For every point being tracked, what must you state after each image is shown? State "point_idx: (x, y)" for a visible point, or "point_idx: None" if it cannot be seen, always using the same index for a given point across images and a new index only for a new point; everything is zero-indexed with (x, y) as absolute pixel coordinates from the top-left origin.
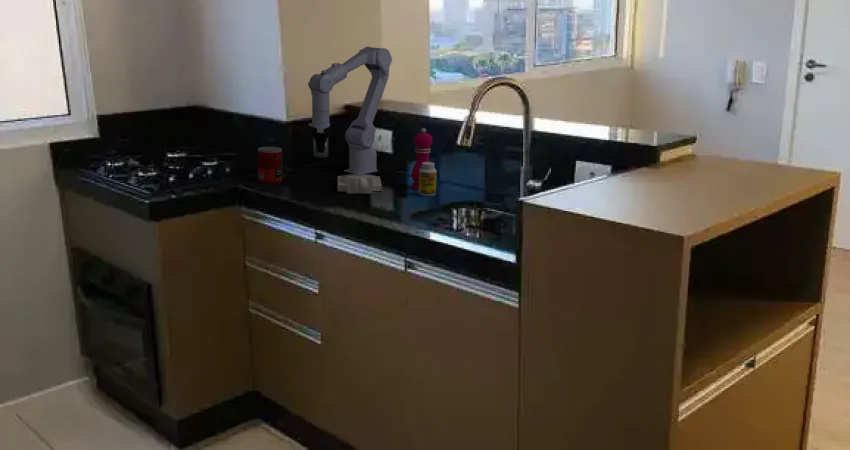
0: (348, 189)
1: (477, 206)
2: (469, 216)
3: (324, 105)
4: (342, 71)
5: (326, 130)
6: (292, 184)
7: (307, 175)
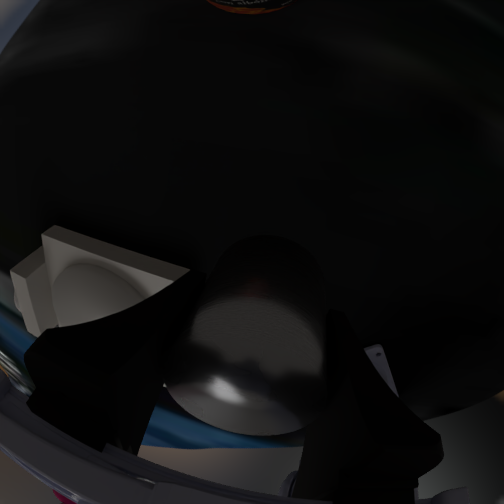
0: (35, 254)
1: (32, 389)
2: None
3: None
4: None
5: (297, 495)
6: (164, 60)
7: (365, 173)
